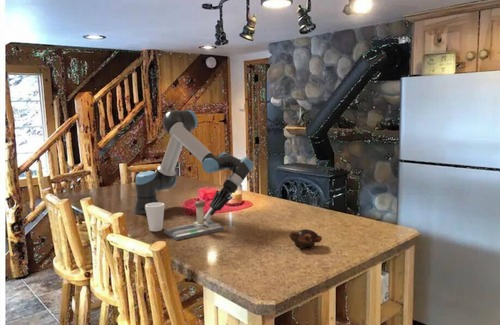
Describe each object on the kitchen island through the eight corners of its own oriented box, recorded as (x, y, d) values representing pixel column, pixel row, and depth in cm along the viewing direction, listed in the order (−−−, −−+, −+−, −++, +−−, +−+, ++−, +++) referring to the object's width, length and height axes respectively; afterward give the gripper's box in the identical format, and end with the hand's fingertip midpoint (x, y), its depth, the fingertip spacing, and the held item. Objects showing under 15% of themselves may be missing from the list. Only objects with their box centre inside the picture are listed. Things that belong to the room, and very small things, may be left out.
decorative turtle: (284, 246, 180) (285, 228, 180) (313, 243, 186) (314, 226, 186) (295, 252, 171) (296, 233, 171) (325, 249, 178) (326, 230, 177)
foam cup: (146, 233, 202) (145, 207, 200) (146, 227, 211) (144, 203, 209) (166, 231, 205) (164, 206, 203) (164, 226, 213) (163, 201, 212)
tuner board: (164, 233, 202) (163, 227, 201) (210, 223, 217) (209, 218, 216) (176, 240, 190) (175, 234, 190) (223, 229, 205) (223, 224, 205)
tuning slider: (193, 226, 206) (192, 201, 205) (202, 224, 209) (201, 200, 207) (203, 231, 197) (202, 206, 196) (212, 229, 200) (212, 204, 199)
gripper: (221, 177, 217) (194, 212, 210) (235, 180, 207) (207, 218, 199) (230, 185, 221) (204, 220, 214) (243, 189, 210) (216, 226, 203)
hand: (205, 219), depth 207 cm, fingers closed
